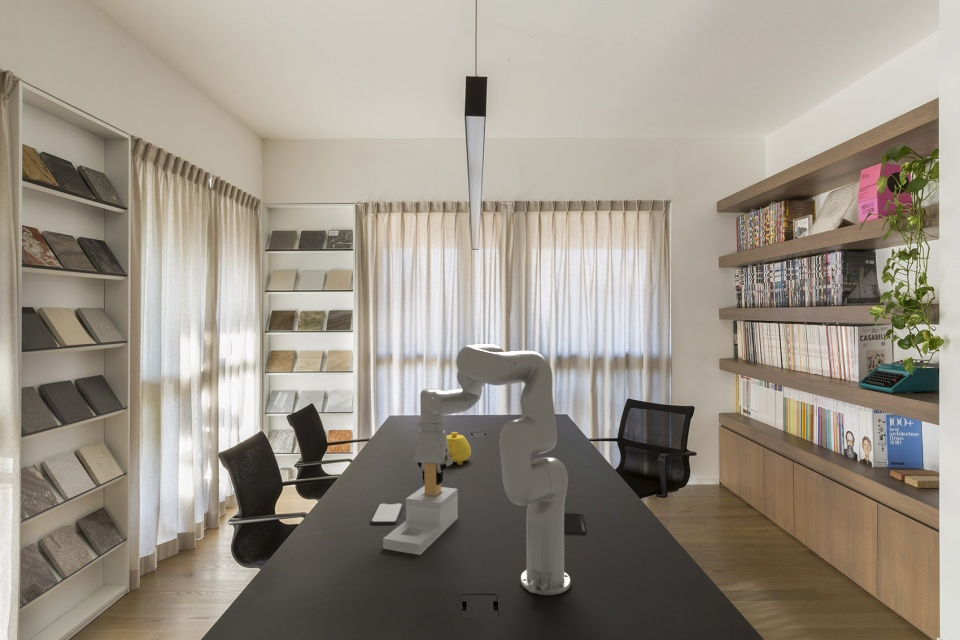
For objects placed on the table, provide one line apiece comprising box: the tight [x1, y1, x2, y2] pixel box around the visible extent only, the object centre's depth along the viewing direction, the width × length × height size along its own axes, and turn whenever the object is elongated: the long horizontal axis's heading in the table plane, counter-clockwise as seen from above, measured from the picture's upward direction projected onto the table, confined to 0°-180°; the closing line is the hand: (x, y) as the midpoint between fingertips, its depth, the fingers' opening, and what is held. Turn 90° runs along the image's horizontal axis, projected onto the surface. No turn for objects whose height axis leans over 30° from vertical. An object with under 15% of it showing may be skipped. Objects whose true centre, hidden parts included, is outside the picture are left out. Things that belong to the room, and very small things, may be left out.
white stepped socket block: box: [382, 485, 459, 556], centre depth 161 cm, size 28×12×10 cm, turn 160°
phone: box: [564, 512, 587, 535], centre depth 167 cm, size 8×1×15 cm
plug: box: [424, 463, 442, 495], centre depth 167 cm, size 4×4×10 cm
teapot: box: [443, 431, 472, 466], centre depth 238 cm, size 20×16×14 cm
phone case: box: [370, 502, 404, 526], centre depth 175 cm, size 9×2×16 cm
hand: (432, 482), depth 167 cm, fingers closed on plug, 3 cm apart
